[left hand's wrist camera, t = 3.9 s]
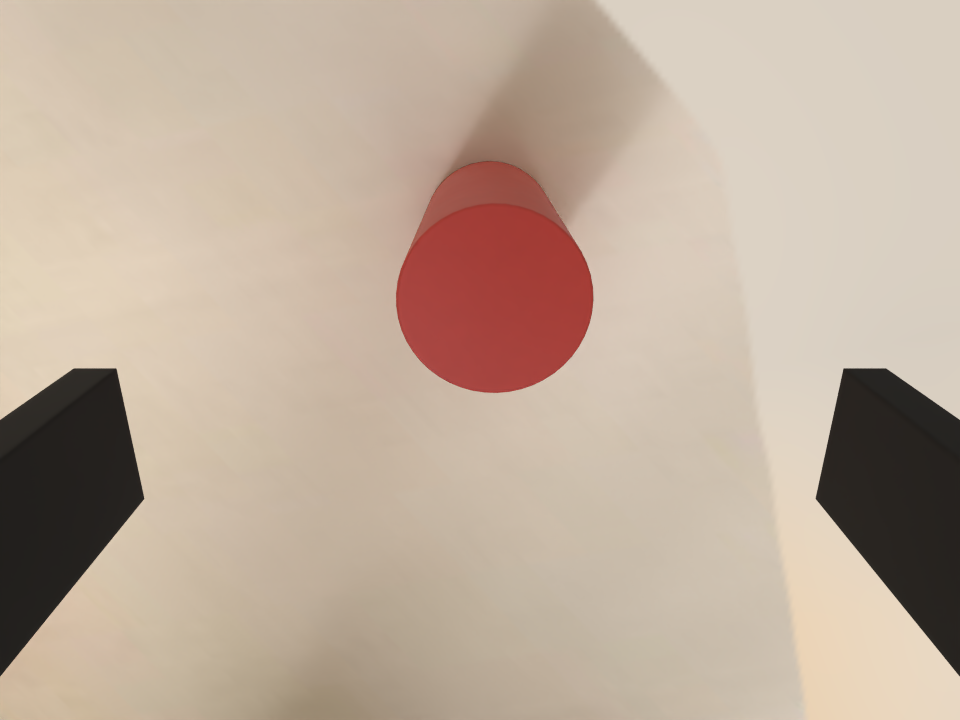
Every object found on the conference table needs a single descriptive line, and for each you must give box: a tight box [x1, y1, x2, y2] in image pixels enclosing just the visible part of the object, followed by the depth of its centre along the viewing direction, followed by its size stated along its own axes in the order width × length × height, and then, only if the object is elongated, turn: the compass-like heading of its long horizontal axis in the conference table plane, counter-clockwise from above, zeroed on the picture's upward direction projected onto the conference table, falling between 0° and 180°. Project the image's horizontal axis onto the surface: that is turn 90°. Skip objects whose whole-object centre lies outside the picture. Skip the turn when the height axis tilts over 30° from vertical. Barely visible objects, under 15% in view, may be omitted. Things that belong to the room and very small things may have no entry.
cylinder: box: [396, 161, 593, 393], centre depth 25 cm, size 6×6×12 cm
